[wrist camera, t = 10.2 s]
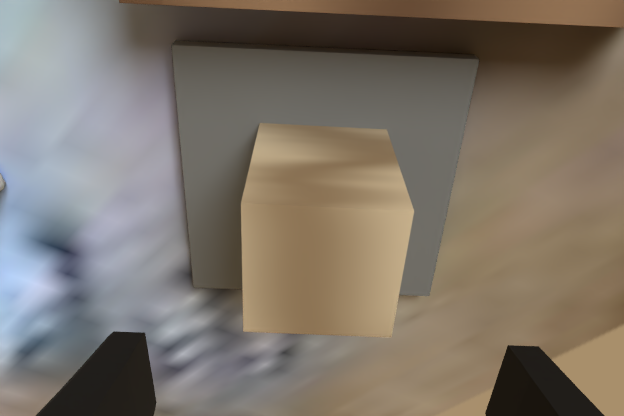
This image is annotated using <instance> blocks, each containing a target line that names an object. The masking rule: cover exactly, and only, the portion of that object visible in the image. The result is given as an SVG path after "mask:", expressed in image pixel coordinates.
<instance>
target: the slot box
mask: <svg viewBox="0 0 624 416" xmlns="http://www.w3.org/2000/svg"><path fill="white" fill-rule="evenodd" d="M119 3H133V4H154V5H174V6H195V7H215V8H235V9H256V10H276V11H297V12H317V13H338V14H358V15H379V16H399V17H419V18H440V19H460V20H481V21H501V22H522V23H542V24H563V25H583V26H603V27H624V0H119Z"/></svg>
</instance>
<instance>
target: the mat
mask: <svg viewBox="0 0 624 416" xmlns="http://www.w3.org/2000/svg"><path fill="white" fill-rule="evenodd" d="M171 48H172V59H173V70H174V81H175V92H176V103H177V114H178V124H179V135H180V146H181V157H182V168H183V179H184V190H185V200H186V211H187V222H188V233H189V244H190V255H191V266H192V277H193V287H194V288H217V289H243V288H242V235H241V201H242V196H243V192H244V188H245V184H246V179H247V175H248V171H249V167H250V162H251V158H252V154H253V150H254V145H255V141H256V137H257V133H258V128H259V124H260V123H270V124H290V125H310V126H329V127H349V128H368V129H387V132H388V135H389V138H390V140H391V143H392V146H393V149H394V152H395V155H396V158H397V161H398V164H399V167H400V170H401V173H402V176H403V179H404V182H405V185H406V188H407V191H408V194H409V197H410V200H411V203H412V206H413V209H414V215H413V221H412V226H411V232H410V237H409V243H408V248H407V254H406V259H405V265H404V270H403V276H402V281H401V286H400V292H399V295H416V296H429V295H430V290H431V286H432V281H433V276H434V271H435V267H436V262H437V257H438V253H439V248H440V243H441V238H442V234H443V229H444V224H445V220H446V215H447V210H448V205H449V201H450V196H451V191H452V187H453V182H454V177H455V172H456V168H457V163H458V158H459V154H460V149H461V144H462V139H463V135H464V130H465V125H466V121H467V116H468V111H469V106H470V102H471V97H472V92H473V88H474V83H475V78H476V73H477V69H478V64H479V59H478V58H477V57H476V56H475V55H474V54H453V53H432V52H410V51H389V50H368V49H347V48H326V47H305V46H283V45H262V44H241V43H220V42H199V41H178V40H176V41H175V42H174V43H173V44H172V45H171Z"/></svg>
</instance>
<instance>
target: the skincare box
mask: <svg viewBox="0 0 624 416" xmlns="http://www.w3.org/2000/svg"><path fill="white" fill-rule="evenodd" d="M5 183H6V182H5V181H4V179H3V178H2V175H1V174H0V191H1V190H3V189H4V185H5Z"/></svg>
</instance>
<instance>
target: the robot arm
mask: <svg viewBox="0 0 624 416" xmlns="http://www.w3.org/2000/svg"><path fill="white" fill-rule="evenodd" d="M155 406H156V397H155V391H154V385H153V379H152V373H151V367H150V361H149V355H148V348H147V342H146V336H145V333H137V332H113V333H112V334H110V335H109V336H108V337H107V338H106V340H105V341H104V342H103V343H102V344H101V345H100V346H99V348H98V349H97V350H96V351H95V352H94V353H93V354H92V355H91V357H90V358H89V359H88V360H87V361H86V362H85V363H84V364H83V366H82V367H81V368H80V369H79V370H78V371H77V372H76V373H75V374H74V376H73V377H72V378H71V379H70V380H69V381H68V382H67V383H66V384H65V385H64V386H63V388H62V389H61V390H60V391H59V392H58V393H57V394H56V395H55V396H54V397H53V398H52V399H51V400H50V401H49V402H48V403H47V404H46V406H45V407H44V408H43V409H42V410H41V411H40V412H39V413H38V414H37V415H36V416H153V415H154V411H155ZM485 414H486V416H604V415H603V414H602V413H601V412H600V411H599V410H598V409H597V408H596V406H595V405H594V404H593V403H592V402H590V400H589V399H588V398H587V397H586V396H585V395H584V394H583V393H582V392H581V391H580V390H579V389H578V388H577V387H576V386H575V384H573V382H572V381H571V380H570V379H569V378H568V377H567V376H566V375H565V374H564V373H563V372H562V371H561V370H560V369H559V367H558V366H557V365H556V364H555V363H554V362H553V361H552V360H551V359H550V358H549V357H548V356H547V355H546V354H545V353H544V352H543V351H542V350H541V349H540V348H539V347H537V346H509V345H508V347H507V350H506V353H505V356H504V359H503V362H502V365H501V368H500V371H499V374H498V377H497V380H496V383H495V386H494V389H493V392H492V395H491V398H490V401H489V404H488V407H487V410H486V413H485Z"/></svg>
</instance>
